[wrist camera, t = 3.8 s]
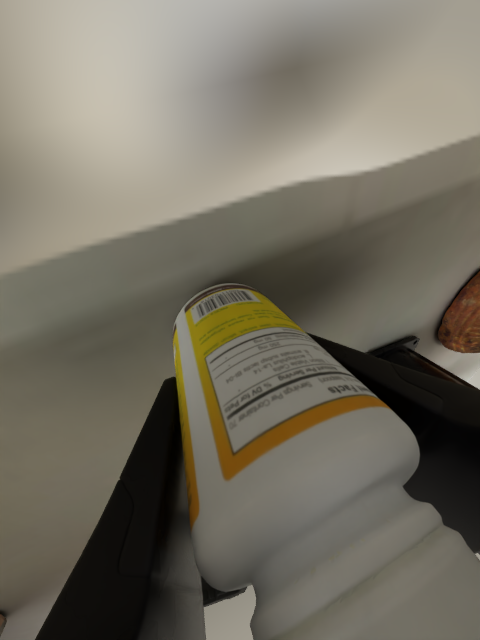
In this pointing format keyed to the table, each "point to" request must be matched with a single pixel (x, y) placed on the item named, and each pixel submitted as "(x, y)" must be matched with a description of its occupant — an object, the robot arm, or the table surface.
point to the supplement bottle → (308, 485)
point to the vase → (2, 623)
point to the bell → (463, 320)
